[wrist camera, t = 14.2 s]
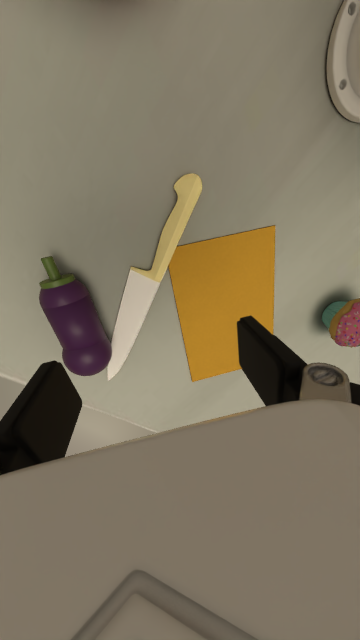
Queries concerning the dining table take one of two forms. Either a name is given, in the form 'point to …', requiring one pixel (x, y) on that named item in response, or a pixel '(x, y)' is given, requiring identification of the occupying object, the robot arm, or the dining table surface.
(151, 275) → the knife
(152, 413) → the dining table surface
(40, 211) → the dining table surface
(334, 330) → the cupcake
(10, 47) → the dining table surface
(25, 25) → the dining table surface
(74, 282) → the eggplant
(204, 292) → the dish cloth
